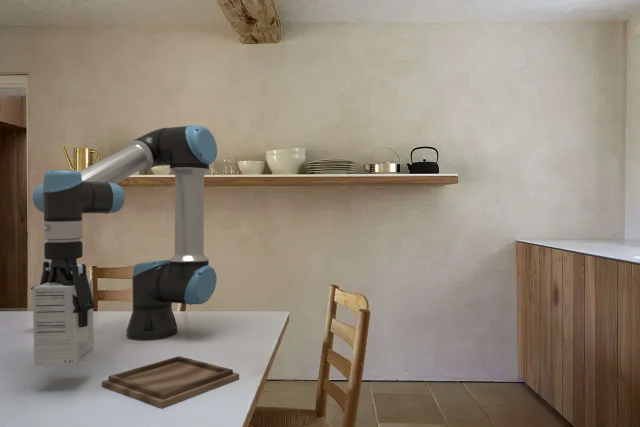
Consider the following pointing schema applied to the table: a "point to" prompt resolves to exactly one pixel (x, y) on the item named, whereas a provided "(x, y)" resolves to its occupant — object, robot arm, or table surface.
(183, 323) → the table surface
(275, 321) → the table surface
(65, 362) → the supplement box
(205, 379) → the walnut tray
